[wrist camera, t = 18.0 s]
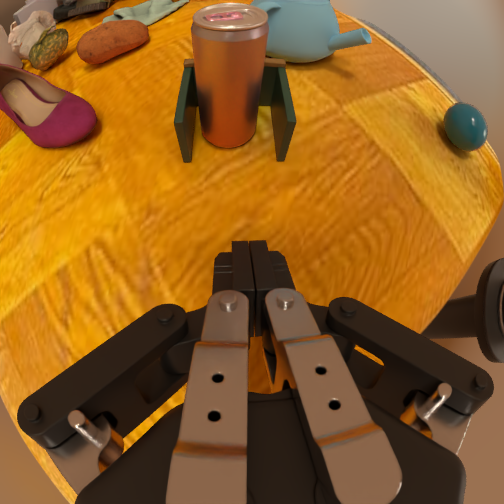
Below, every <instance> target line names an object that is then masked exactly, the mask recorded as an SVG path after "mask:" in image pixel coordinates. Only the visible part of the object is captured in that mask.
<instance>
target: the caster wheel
mask: <svg viewBox="0 0 504 504" xmlns="http://www.w3.org/2000/svg"><path fill="white" fill-rule="evenodd" d="M76 5H77V0H63V4H61V5H59V6H58V7H56V8H55V9H54V11H53V18H54V19H56V20H61V19H67V18H70V17H68V11H69V10H72V9H75V8H76ZM72 17H73V16H72Z"/></svg>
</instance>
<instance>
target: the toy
mask: <svg viewBox="0 0 504 504" xmlns="http://www.w3.org/2000/svg"><path fill="white" fill-rule="evenodd" d="M113 1H114V0H77V5H76V8H75V9H72V10H69V11H68V17H72V16H77V15H81V14H85V13H90V12H95V11H100V10H105V9H107V8H109V5H110V3H112V2H113Z"/></svg>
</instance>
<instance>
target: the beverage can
mask: <svg viewBox="0 0 504 504" xmlns="http://www.w3.org/2000/svg"><path fill="white" fill-rule="evenodd" d="M191 33H192V45H193V56H194V67H195V77H196V87H197V96H198V105H199V114H200V122H201V130H202V134H203V136H204V137H205V138H206V140H208V141H209V142H210V143H212V144H214V145H216V146H218V147H222V148H233V147H237V146H240V145H242V144H244V143H246V142H247V141H248V140H249V139H251V137H252V136H253V135H254V132H255V128H256V120H257V113H258V105H259V98H260V90H261V83H262V76H263V69H264V61H265V54H266V47H267V40H268V33H269V25H268V15H267V13H266V12H265V11H264V10H262V9H260V8H258V7H255V6H252V5H248V4H241V3H222V4H215V5H211V6H207V7H204V8H202V9H200V10H198V11H197V12H196V13H195V14H194V16H193V24H192V27H191Z"/></svg>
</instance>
